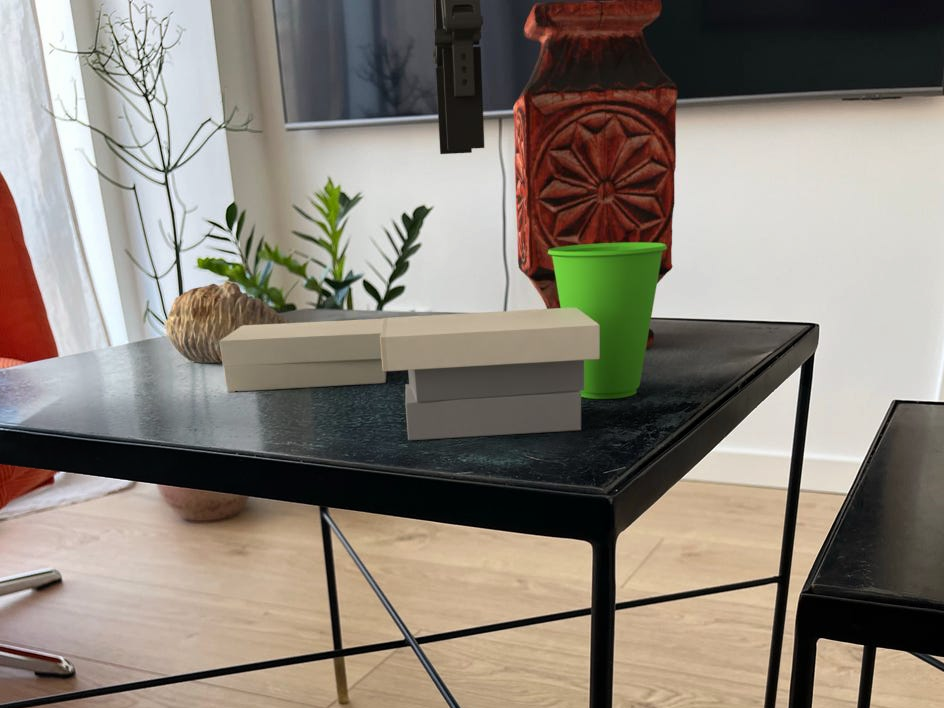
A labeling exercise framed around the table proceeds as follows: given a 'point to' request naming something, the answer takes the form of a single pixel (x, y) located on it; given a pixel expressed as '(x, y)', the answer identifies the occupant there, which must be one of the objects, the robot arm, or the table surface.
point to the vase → (593, 137)
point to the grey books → (494, 400)
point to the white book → (488, 339)
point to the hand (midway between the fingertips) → (460, 151)
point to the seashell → (213, 319)
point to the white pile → (303, 355)
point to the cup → (611, 307)
